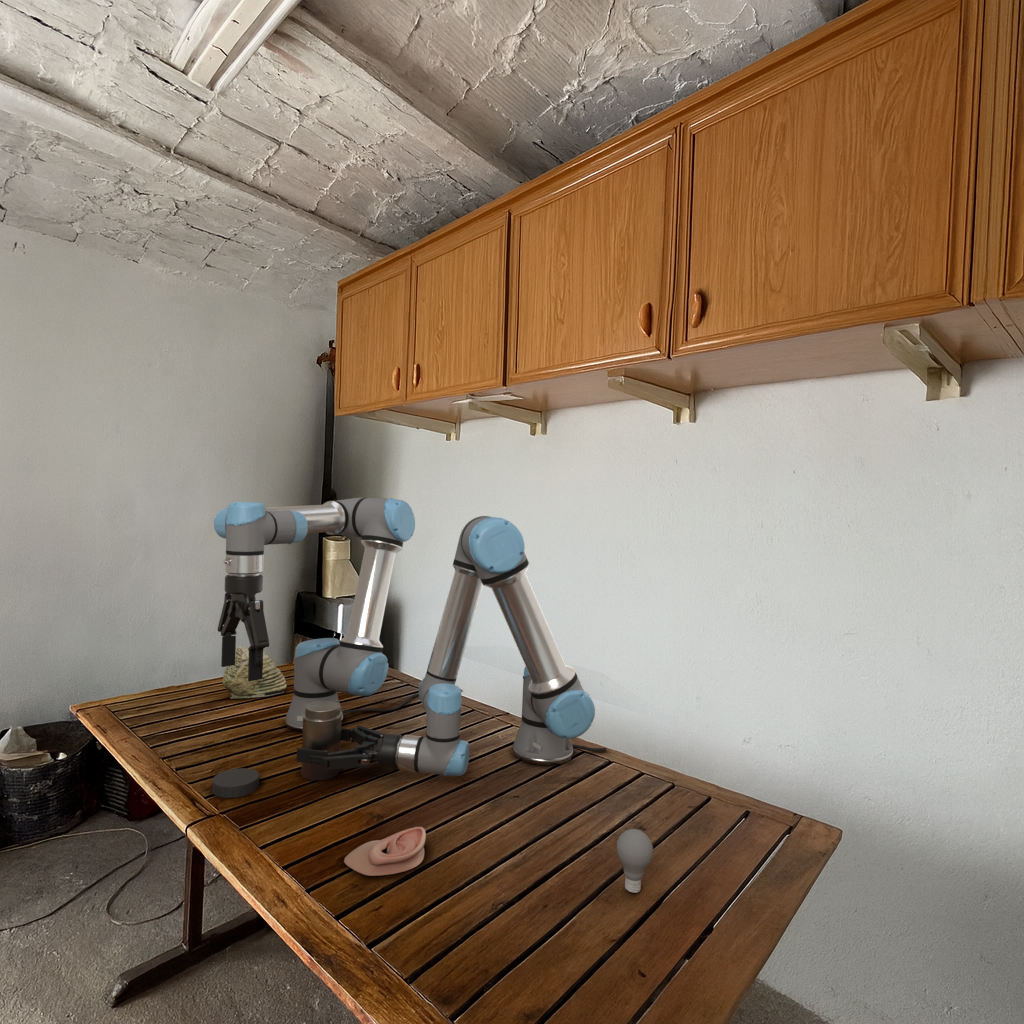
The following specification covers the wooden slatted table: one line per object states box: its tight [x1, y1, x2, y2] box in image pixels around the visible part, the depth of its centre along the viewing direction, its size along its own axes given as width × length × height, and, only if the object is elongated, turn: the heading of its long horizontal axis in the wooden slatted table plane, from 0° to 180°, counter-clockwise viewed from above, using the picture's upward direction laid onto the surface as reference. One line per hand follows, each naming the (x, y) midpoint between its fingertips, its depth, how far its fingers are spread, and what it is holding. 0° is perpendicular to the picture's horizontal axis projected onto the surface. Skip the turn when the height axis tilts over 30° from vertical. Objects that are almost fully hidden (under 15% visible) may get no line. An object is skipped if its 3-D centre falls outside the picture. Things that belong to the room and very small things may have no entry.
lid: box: [211, 767, 260, 799], centre depth 136 cm, size 9×9×2 cm
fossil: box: [222, 646, 288, 699], centre depth 198 cm, size 9×18×15 cm, turn 132°
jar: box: [300, 701, 342, 781], centre depth 145 cm, size 8×8×15 cm
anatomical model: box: [343, 826, 427, 877], centre depth 112 cm, size 13×4×12 cm
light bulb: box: [615, 828, 654, 894], centre depth 106 cm, size 6×6×10 cm
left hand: (241, 672), depth 136 cm, fingers open, 13 cm apart
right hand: (311, 743), depth 146 cm, fingers open, 13 cm apart
